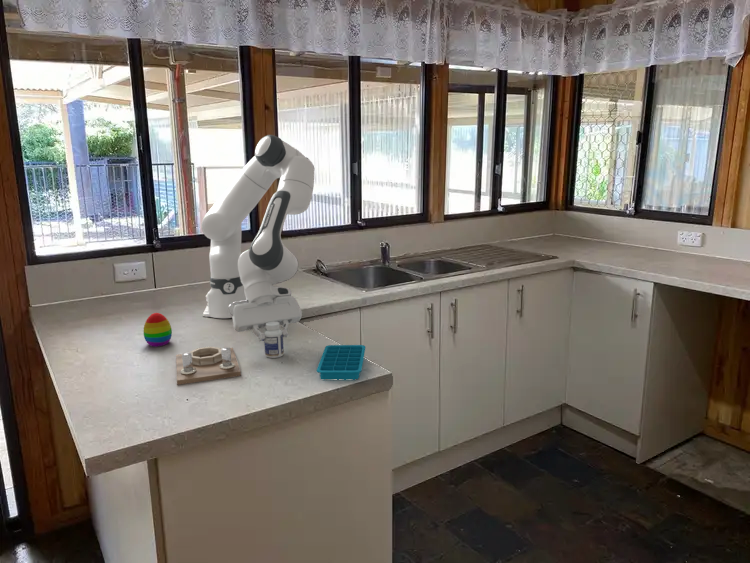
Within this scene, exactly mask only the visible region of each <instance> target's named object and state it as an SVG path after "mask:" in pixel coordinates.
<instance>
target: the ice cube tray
mask: <svg viewBox="0 0 750 563" xmlns="http://www.w3.org/2000/svg"><path fill="white" fill-rule="evenodd" d="M365 352H366V346H365V345H363V344H329V345H328V344H327V345H326V346H325V347H324V349H323V352H322V355H321V357H320V359H319V363H318V365H317V368H316V372H317V373H319V377H320V380H321V379H337V380H336V381H340V380H339V379H344V380H343V381H347V380H346V379H353V380H352V381H356V380H355V379H357V380H359V379H358V378H360V375H359V374H360V373H361V372H362V369H363V364H364V359H365Z"/></svg>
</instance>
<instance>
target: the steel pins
mask: <svg viewBox="0 0 750 563" xmlns="http://www.w3.org/2000/svg"><path fill="white" fill-rule="evenodd" d="M221 348H222V349H221V354H222V364H221V365H220V369H231V368H233V367H234V366H235V364H234V363H231V351H230V348H231V347H221ZM189 352H190V351H189ZM189 352H184V353H181V354H182V360H183V369H182V370H181V371H180V372H181V374H183V375H189V374H193V373H195V372H196V368H193V363H192V353H189Z"/></svg>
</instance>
